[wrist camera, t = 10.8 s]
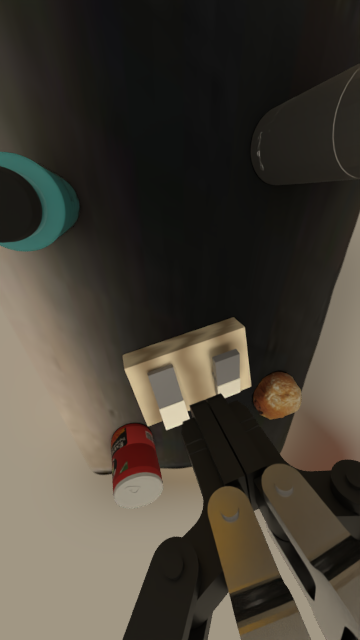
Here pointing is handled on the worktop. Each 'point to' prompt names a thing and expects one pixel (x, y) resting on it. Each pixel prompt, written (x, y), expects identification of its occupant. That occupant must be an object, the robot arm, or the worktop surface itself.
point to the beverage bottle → (33, 204)
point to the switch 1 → (168, 396)
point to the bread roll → (277, 396)
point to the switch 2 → (227, 373)
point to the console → (186, 364)
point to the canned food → (135, 467)
